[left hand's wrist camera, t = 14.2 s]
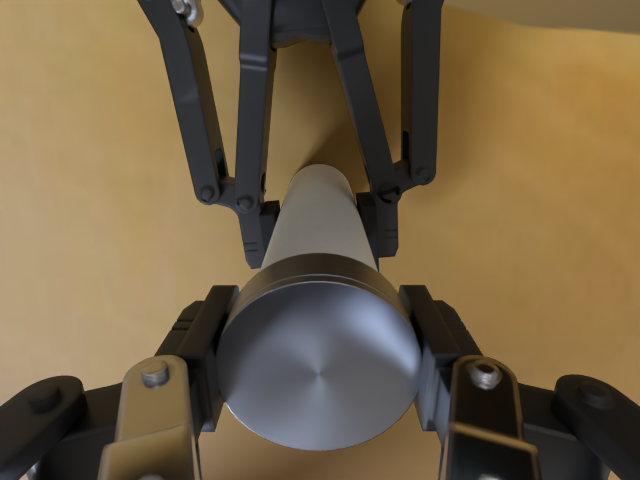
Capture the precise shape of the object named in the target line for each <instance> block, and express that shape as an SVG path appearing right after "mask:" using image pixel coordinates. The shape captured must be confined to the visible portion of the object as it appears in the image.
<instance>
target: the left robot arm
mask: <svg viewBox="0 0 640 480" xmlns="http://www.w3.org/2000/svg"><path fill="white" fill-rule="evenodd" d="M238 295H239V288H238V286H237V285H214V286H213V287H212V288H211V290H210V292H209V294H208V295H207V297H206V299H205V301H195V302H193V303H192V304H191V305H189V306H188V307H186V308H185V309H184V310H183V311H182V313H181V314H180V316H179V317H178V319H177V322H175V324H174V325H173V327H172V330H170V332H169V333H168V335H167V336H166V338H165V340H164V341H163V343H162V344H161V346H160V347H159V349H158V351H157V352H156V354H155V355H154V357H151V358H148V359H145V360H143V361H141V362H139V363H138V364H136V365H135V366H133V367H132V368H131V369H130V370H129V371H128V372H127V373H126V375H125V376H124V379H123V382H121V383H118V384H115V385H111V386H107V387H102V388H98V389H93V390H88V391H84V388H83V384H82V382H81V381H80V380H79V379H78V378H76V377H73V376H56V377H51V378H47V379H44V380H41V381H39V382H36V383H34V384H32V385H30V386H28V387H27V388H25V389H23V390H22V391H20V392H19V393H18V394H16V395H15V396H14V397H12V398H11V399H10V400H8V401H7V402H6V403H4V404H3V405H2V406H0V480H19V479H20V478H21V477H22V476H23V475H24V474H25V473H26V474H27V477H28V480H203V478H202V468H201V458H200V450H199V443H198V438H199V435H200V433H201V432H215V429H216V426H217V423H218V419H219V416H220V413H221V410H222V406H223V403H224V400H223V398H222V396H221V394H220V391H219V384H218V375H217V366H216V357H215V355H216V349H217V345H218V342H219V339H220V337H221V334H222V332H223V329H224V327H225V324H226V322H227V320H228V317H229V315H230V312H231V310H232V307H233V305H234V303H235V300H236V299H237V297H238ZM399 296H400V298H401V299H402V302H403V304H404V307H405V309H406V312H407V314H408V317H409V319H410V322H411V324H412V327H413V329H414V332H415V334H416V337H417V339H418V342H419V344H420V349H421V353H422V363H421V372H420V381H419V389H418V392H417V394H416V396H415V399H414V404H415V407H416V410H417V414H418V417H419V420H420V423H421V427H422V430H423V431H437V434H438V437H439V440H440V443H441V450H440V458H439V468H438V478H437V480H607V479H608V476H609V474H610V471H611V470H612V471H613V472H614V473H615V474H616V475H617V476H618V477H619V478H620V479H621V480H640V406H638V405H637V404H636V403H634V402H633V401H632V400H630V399H629V398H628V397H626V396H625V395H624V394H622V393H621V392H620V391H618V390H617V389H615V388H614V387H612V386H610V385H609V384H607V383H605V382H603V381H600V380H598V379H595V378H592V377H588V376H584V375H573V374H572V375H565V376H562V377H560V378H559V379H558V380H557V382H556V386H555V389H554V391H552V390H547V389H542V388H538V387H533V386H529V385H524V384H521V383H518V382H517V379H516V376H515V374H514V373H513V372H512V371H511V370H510V369H509V368H508V367H507V366H505V365H504V364H502V363H501V362H499V361H497V360H495V359H492V358H489V357H485V356H483V354H482V353H481V351H480V349H479V348H478V346H477V345H476V343H475V341H474V340H473V338H472V337H471V335H470V333H469V332H468V330H466V327H465V325H464V324H463V322H462V321H461V319H460V317H459V316H458V314H457V313H456V311H455V309H453V308H452V307H451V306H449V305H448V304H446V303H445V302H444V301H442V300H433V299H432V297H431V295H430V294H429V292H428V290H427V288H426V286H425V285H401V286H400V288H399Z"/></svg>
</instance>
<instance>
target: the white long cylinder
mask: <svg viewBox="0 0 640 480" xmlns="http://www.w3.org/2000/svg"><path fill="white" fill-rule="evenodd" d="M307 253H330V254H338V255H342V256H346V257H350V258H352V259H355V260H358V261H360V262H362V263H364V264H366V265H368V266H370V267H372V268H373V269H375V270H376V271H377V272H378V270H377V267H376V264H375V261H374V258H373V255H372V252H371V249H370V246H369V243H368V240H367V237H366V234H365V230H364V227H363V224H362V221H361V218H360V215H359V212H358V209H357V206H356V203H355V200H354V197H353V194H352V191H351V188H350V185H349V183H348V181H347V179H346V177H345V176H344V175H343V174H342V173H341V172H340V171H339V170H337V169H336V168H334V167H332V166H329V165H325V164H314V165H310V166H307V167H305V168H303V169H301V170H300V171H299V172H297V173H296V174H295V176H294V177H293V178H292V180H291V182H290V184H289V187H288V190H287V193H286V196H285V199H284V202H283V205H282V208H281V211H280V213H279V216H278V219H277V222H276V225H275V228H274V231H273V234H272V237H271V240H270V243H269V246H268V249H267V252H266V255H265V258H264V261H263V264H262V267H261V269H260V271H261V270H263V269H264V268H266V267H267V266H269V265H271V264H273V263H275V262H277V261H280V260H282V259H285V258H288V257H291V256H295V255H300V254H307Z"/></svg>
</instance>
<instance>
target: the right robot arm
mask: <svg viewBox="0 0 640 480" xmlns="http://www.w3.org/2000/svg"><path fill="white" fill-rule="evenodd" d="M137 1H138V3H139V4H140V6H141V8H142V10H143V11H144V13H145V15H146V16H147V18H148V20H149V22H150V23H151V25H152V27H153V29H154V30H155V32H156V34H157V36H158V37H159V40H160V44H161V49H162V53H163V57H164V62H165V66H166V70H167V75H168V79H169V83H170V88H171V92H172V96H173V101H174V105H175V109H176V114H177V118H178V122H179V126H180V131H181V135H182V139H183V144H184V148H185V152H186V157H187V161H188V165H189V170H190V174H191V178H192V183H193V187H194V191H195V195H196V197H197V199H198V200H199V201H200V202H201V203H203V204H205V205H212V204H218V205H222V206H226V207H229V208H231V209H232V210H234V211H235V212H236V214H237V215H238V218H239V223H240V228H241V234H242V240H243V245H244V250H245V257H246V261H247V263H248V264H249V266H250V268H251V269H256V268H261V267H262V264H263V261H264V258H265V255H266V252H267V249H268V246H269V243H270V240H271V237H272V234H273V231H274V228H275V225H276V222H277V219H278V216H279V213H280V204H279V200H276V201H266V202H264V195H265V192H266V189H265V181H266V168H267V156H268V143H269V131H270V118H271V106H272V93H273V81H274V71H275V67H276V57H277V48H285V47H288V46H291V45H293V44H295V43H298V42H300V41H306V42H311V43H316V44H323V43H329V47H330V50H331V54H332V57H333V60H334V63H335V66H336V69H337V73H338V76H339V80H340V83H341V87H342V90H343V94H344V97H345V101H346V104H347V108H348V111H349V115H350V118H351V122H352V126H353V129H354V133H355V136H356V140H357V143H358V147H359V150H360V154H361V157H362V161H363V164H364V168H365V171H366V175H367V178H368V182H369V184H370V192H364V193H356V201H357V209H358V212H359V215H360V218H361V221H362V224H363V227H364V230H365V234H366V237H367V240H368V243H369V246H370V249H371V252H372V255H373V258H374V261H375V264H376V267H377V270H378V272H379V260H378V258H381V257H393V256H395V254H396V252H397V249H398V212H397V204H398V201H399V200H400V198H401V195H402V193H403V192H405V191H406V190H408V189H411V188H413V187H415V186H417V185H426V184H429V183H430V182H432V180H433V179H434V177H435V174H436V154H437V123H438V92H439V61H440V30H441V8H442V5H443V2H444V0H396V1H397V2H398V3H399V4H401V5H404V10H403V16H402V23H401V160H400V161H398V162H396V163H394V164H393V163H392V159H391V155H390V151H389V147H388V143H387V139H386V135H385V131H384V128H383V124H382V120H381V116H380V112H379V108H378V104H377V100H376V96H375V92H374V89H373V85H372V81H371V77H370V73H369V69H368V65H367V61H366V57H365V53H364V45H363V40H362V35H361V32H360V28H359V24H358V20H357V16H358V14H359V13H360V11H361V9H362V7H363V5H364V3H365V2H366V0H218V1H219V2H220V3H221V5H222V6H223V7H224V8H225V9H226V11H227V12H228V13H229V14H230V15H231V17H232V18H233V19H234V20H235V21H236V23H237V24H238V25H239V26H240V42H239V60H240V88H239V107H238V127H237V146H236V166H235V178H233V177H229V173H228V168H227V163H226V158H225V153H224V148H223V143H222V137H221V132H220V127H219V122H218V117H217V112H216V107H215V102H214V97H213V92H212V87H211V81H210V76H209V71H208V66H207V61H206V56H205V51H204V47H203V43H202V40H201V38H200V35H199V32H198V30H197V28H196V27H198V26H199V25H200V24H201V22H202V21H203V9H202V5H201V0H137Z"/></svg>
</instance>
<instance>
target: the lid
mask: <svg viewBox="0 0 640 480" xmlns="http://www.w3.org/2000/svg"><path fill="white" fill-rule="evenodd" d="M215 357H216V366H217V375H218V384H219V391H220V394H221V396H222V398H223V400H224V402H225V403H226V405H227V407H228V408H229V410H230V411H231V412H232V413H233V414H234V416H235V417H236V418H237V419H238V420H239V421H240V422H241V423H242V424H244V425H245V426H246V427H247V428H249V429H250V430H251V431H253V432H254V433H256V434H257V435H259V436H261V437H263V438H265V439H267V440H269V441H272V442H274V443H276V444H280V445H283V446H286V447H290V448H295V449H300V450H311V451H327V450H337V449H342V448H347V447H351V446H354V445H358V444H361V443H363V442H366V441H368V440H370V439H373V438H374V437H376V436H378V435H380V434H382V433H383V432H385V431H386V430H387V429H389V428H390V427H391V426H393V425H394V424H395V423H396V422H397V421H398V420H399V419H400V418H401V417H402V416H403V415H404V414H405V412H406V411H407V410H408V409H409V407H410V405H411V404H412V402H413V401H414V399H415V396H416V394H417V392H418V389H419V381H420V372H421V363H422V353H421V349H420V344H419V342H418V339H417V337H416V334H415V332H414V329H413V327H412V324H411V322H410V319H409V317H408V314H407V312H406V309H405V307H404V304H403V302H402V299H401V298H400V296H399V294H398V293H397V291H396V290H395V288H394V287H393V286H392V285H391V283H390V282H389V281H388V280H387V279H386V278H385V277H384V276H383V275H382V274H380V273H379V272H377V271H376V270H375V269H373V268H372V267H370V266H368V265H366V264H364V263H362V262H360V261H358V260H355V259H352V258H350V257H346V256H342V255H338V254H330V253H307V254H300V255H295V256H291V257H288V258H285V259H282V260H280V261H277V262H275V263H273V264H271V265H269V266H267V267H266V268H264V269H263V270H261V271H260V272H259V273H257V274H256V275H255V276H254V277H253V278H252V279H251V280H250V281H249V282H248V283H247V284H246V285H245V286H244V288H243V289H242V290H241V291H240V293H239V295H238V297H237V299H236V300H235V303H234V305H233V307H232V310H231V312H230V315H229V317H228V320H227V322H226V324H225V327H224V329H223V332H222V334H221V337H220V339H219V342H218V345H217V349H216V355H215Z"/></svg>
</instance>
